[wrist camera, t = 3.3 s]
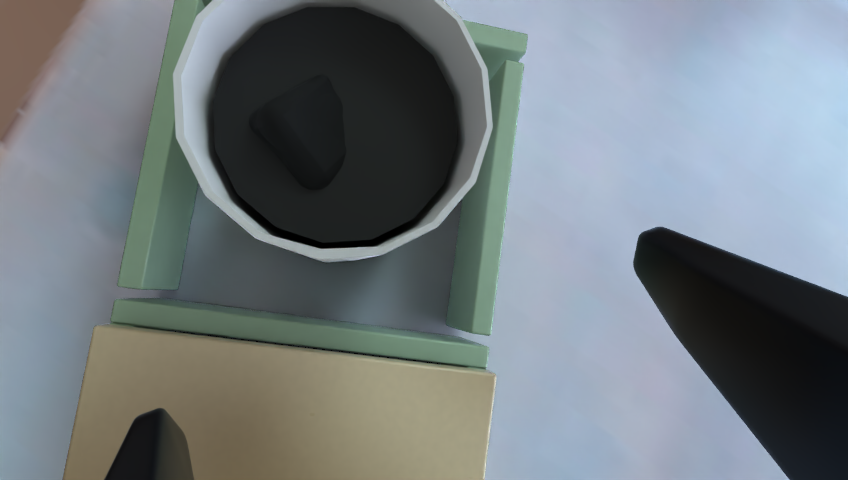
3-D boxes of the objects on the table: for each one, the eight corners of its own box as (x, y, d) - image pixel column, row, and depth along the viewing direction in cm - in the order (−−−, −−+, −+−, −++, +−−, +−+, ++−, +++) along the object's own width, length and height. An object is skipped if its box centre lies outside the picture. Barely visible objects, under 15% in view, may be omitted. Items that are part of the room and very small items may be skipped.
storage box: (419, 668, 20) (440, 758, 16) (86, 656, 19) (21, 753, 15) (494, 77, 23) (528, 33, 19) (209, 19, 21) (182, -43, 17)
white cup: (319, 310, 21) (309, 327, 11) (209, 170, 21) (99, 61, 11) (453, 205, 22) (552, 136, 12) (351, 72, 22) (367, -105, 12)
